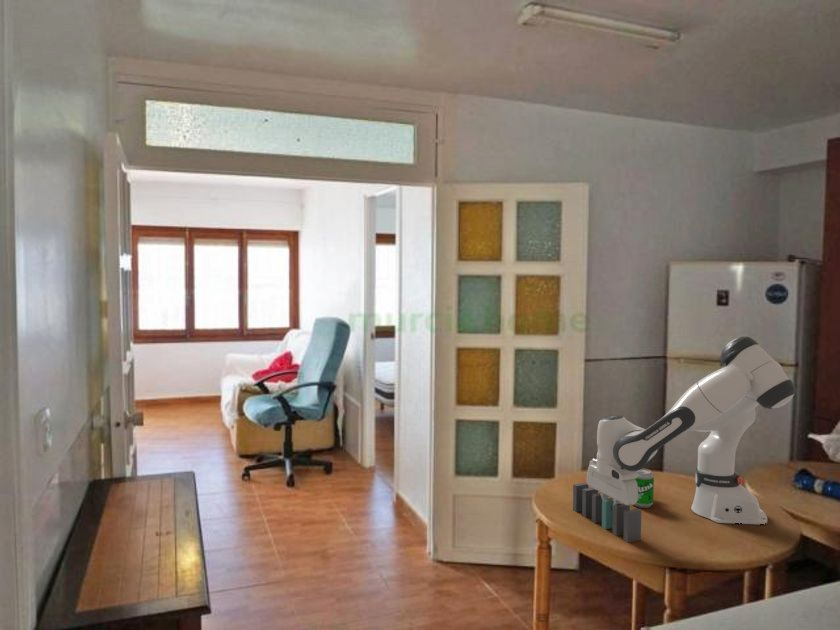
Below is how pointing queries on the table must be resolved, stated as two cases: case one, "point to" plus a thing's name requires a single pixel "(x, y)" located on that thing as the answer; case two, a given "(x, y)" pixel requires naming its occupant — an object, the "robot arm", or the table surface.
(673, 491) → the table surface
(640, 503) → the soda can
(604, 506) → the domino
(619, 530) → the domino
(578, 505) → the domino
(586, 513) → the domino
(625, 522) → the domino
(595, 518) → the domino
